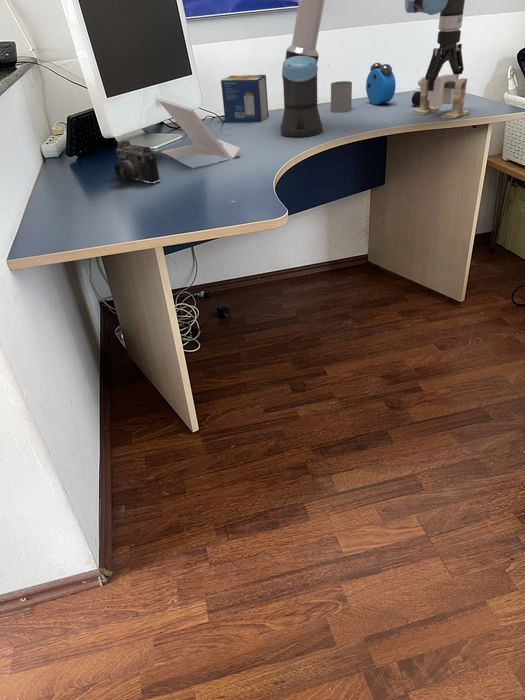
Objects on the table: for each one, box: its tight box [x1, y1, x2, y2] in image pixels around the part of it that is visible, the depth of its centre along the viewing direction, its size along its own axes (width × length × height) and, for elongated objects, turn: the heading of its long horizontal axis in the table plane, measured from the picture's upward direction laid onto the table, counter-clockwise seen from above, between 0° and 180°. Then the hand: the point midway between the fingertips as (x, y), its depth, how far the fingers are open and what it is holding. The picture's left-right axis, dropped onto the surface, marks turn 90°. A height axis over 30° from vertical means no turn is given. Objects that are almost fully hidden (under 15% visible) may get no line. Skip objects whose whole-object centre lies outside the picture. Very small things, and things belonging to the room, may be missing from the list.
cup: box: [330, 80, 353, 113], centre depth 212 cm, size 8×8×10 cm
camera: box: [114, 140, 161, 183], centre depth 152 cm, size 18×9×10 cm, turn 45°
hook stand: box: [411, 76, 471, 119], centre depth 193 cm, size 10×18×12 cm, turn 41°
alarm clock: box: [365, 62, 397, 105], centre depth 215 cm, size 13×6×15 cm, turn 24°
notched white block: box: [429, 74, 456, 109], centre depth 192 cm, size 9×4×10 cm, turn 131°
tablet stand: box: [158, 98, 242, 159], centre depth 169 cm, size 18×25×17 cm
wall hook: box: [413, 75, 440, 94], centre depth 223 cm, size 9×10×10 cm
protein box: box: [220, 74, 269, 123], centre depth 209 cm, size 10×15×16 cm
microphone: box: [411, 91, 421, 107], centre depth 214 cm, size 6×6×20 cm
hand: (442, 97), depth 193 cm, fingers open, 13 cm apart
